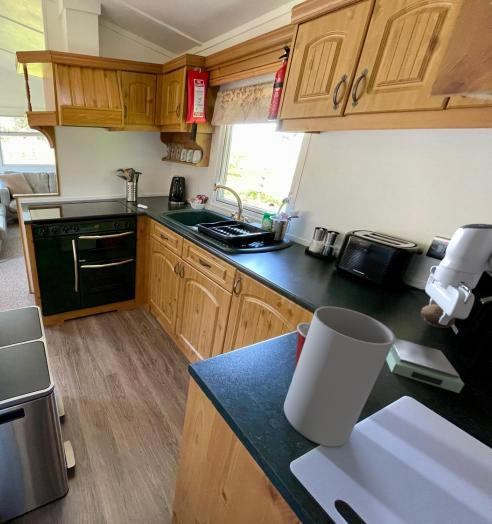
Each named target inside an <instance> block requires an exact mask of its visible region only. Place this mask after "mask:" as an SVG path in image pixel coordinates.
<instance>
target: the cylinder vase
mask: <svg viewBox="0 0 492 524" xmlns="http://www.w3.org/2000/svg"><path fill="white" fill-rule="evenodd" d="M310 323H311V325H310V328H309V331H308V334H307V337H306V340H305V343H304V346H303V349H302V352H301V355H300V358H299V361H298V364H297V367H296V366H295V370H294V373H293V376H292V380H291V382H290V385H289V387H288V391H287V395H286V397H285V399H284V404H283V411H284V414H285V417H286V419H287V421H288V423H289V424H290V425H291V426H292V427H293V429H294V430H296V432H298V433H299V434H300V435H302V436H303V437H305V438H306V439H308V440H309V441H312V442H313V443H316V444H318V445H321V446H324V447H341V446H342V445H345V444H346V443H347V442H348V440H349V439H350V436H351V435H352V432H353V431H354V428H355V426H356V424H357V422H358V420H359V417H360V415H361V413H362V411H363V409H364V407H365V405H366V403H367V400H368V398H369V397H370V394H371V392H372V390H373V388H374V385H375V384H376V382H377V379H378V377H379V375H380V374H381V370H382V369H383V366H384V365H385V362H386V361H387V360H386V358H387V356H388V354H389V352H390V349H391V347H392V345H393V343H394V341H395V338H396V335H395V334H394V332H393V331H392V329H390V328H389V327H388V326H387V325H386V324H384V323H382V322H380V321H379V320H377V319H375V318H373V317H371V316H369V315H366V314H364V313H362V312H359V311H356V310H352V309H349V308H344V307H339V306H321V307H318V308H317V309H315V310H314V314H313V316H312V319H311V322H310Z"/></svg>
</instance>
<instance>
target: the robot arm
mask: <svg viewBox="0 0 492 524" xmlns="http://www.w3.org/2000/svg"><path fill="white" fill-rule="evenodd" d="M485 271H490V272H492V224H490V223H469V224H465V225H462V226H460V227H459V228H457V230H456V231H455V233H454V234H453V236H452V237H451V239H450V241H449V243H448V245H447V247H446V249H445V256H444V257H443V259H442V260H441V261H440V263H439V264H438V265H432V266H431V267H430V270H429V272H430V274H429V276H428V279H427V282H426V284H425V288H424V291H425V293H426V294H427V295H428V296H429V297H430V299H429V305H439V306H440V307H441V308H442V309H443V310H444V312H443V315H442V316H441V317H439V319H438V322H439V323H440V324H442V325H447V324H448V322H449V320H451V319H452V318H455V319H459V320H465V319H467V318H468V317H469V315H470V313H471V310H472V308H473V306H474V302H475V295H474V293H472V291H473V289H475V288H476V286H477V284H478V283H479V280H480V279H481V277H482V275H483V274H484V272H485Z"/></svg>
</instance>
